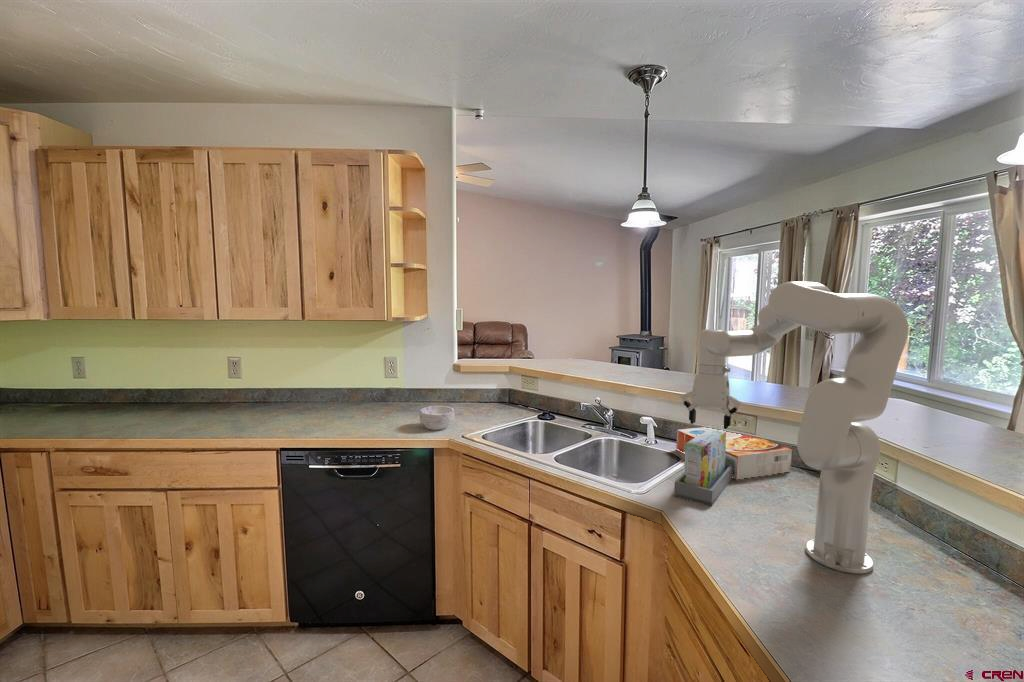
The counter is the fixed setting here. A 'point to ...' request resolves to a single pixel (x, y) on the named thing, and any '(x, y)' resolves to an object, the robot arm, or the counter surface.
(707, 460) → the snack box
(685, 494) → the tray
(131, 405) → the counter surface
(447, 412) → the grey bowl
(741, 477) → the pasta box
